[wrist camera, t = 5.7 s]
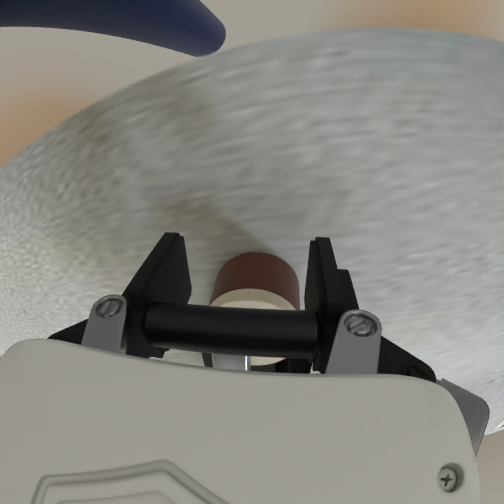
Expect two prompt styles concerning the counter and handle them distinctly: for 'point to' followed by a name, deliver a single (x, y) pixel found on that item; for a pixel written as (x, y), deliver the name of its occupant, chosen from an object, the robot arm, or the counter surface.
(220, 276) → the cake
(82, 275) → the counter surface
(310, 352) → the lever
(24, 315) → the counter surface
